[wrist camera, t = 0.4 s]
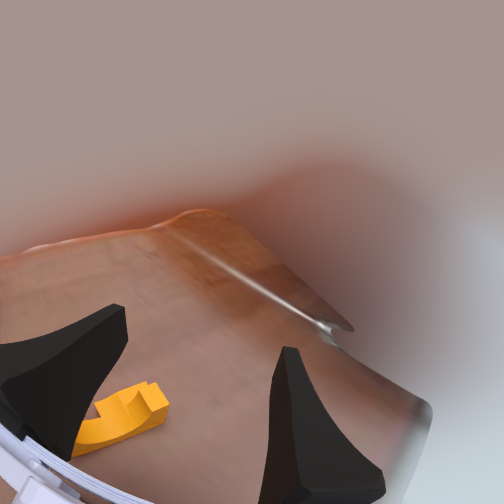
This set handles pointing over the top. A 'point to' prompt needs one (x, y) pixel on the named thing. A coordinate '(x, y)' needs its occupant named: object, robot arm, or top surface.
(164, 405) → the pipe clamp
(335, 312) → the top surface
